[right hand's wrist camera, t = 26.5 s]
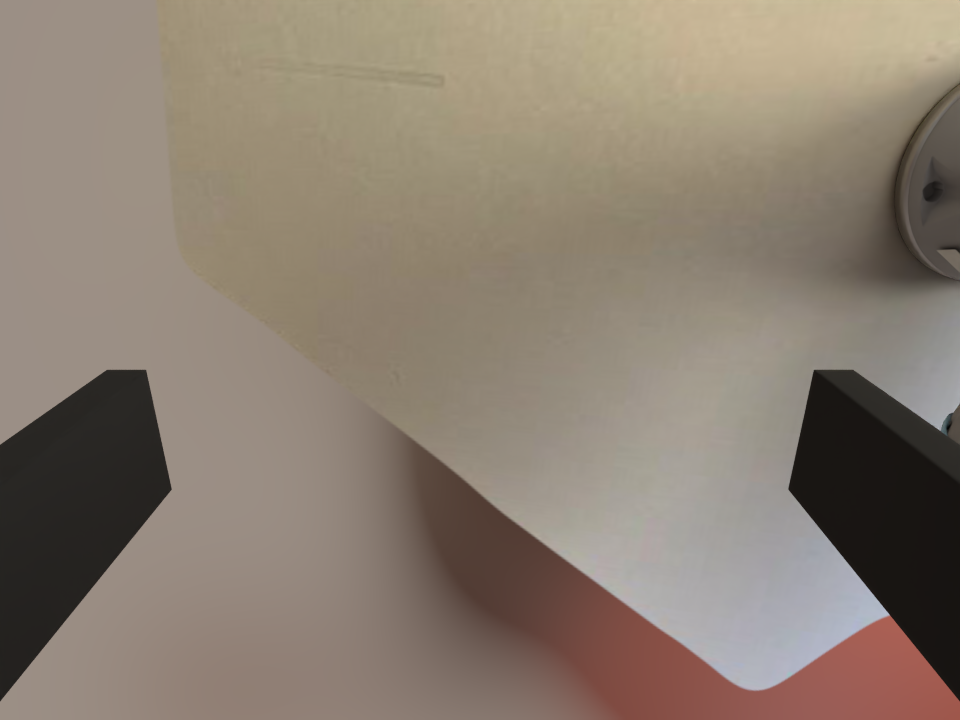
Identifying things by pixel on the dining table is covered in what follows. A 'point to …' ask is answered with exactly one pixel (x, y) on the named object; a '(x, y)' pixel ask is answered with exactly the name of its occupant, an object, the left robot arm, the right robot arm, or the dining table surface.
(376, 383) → the dining table surface
